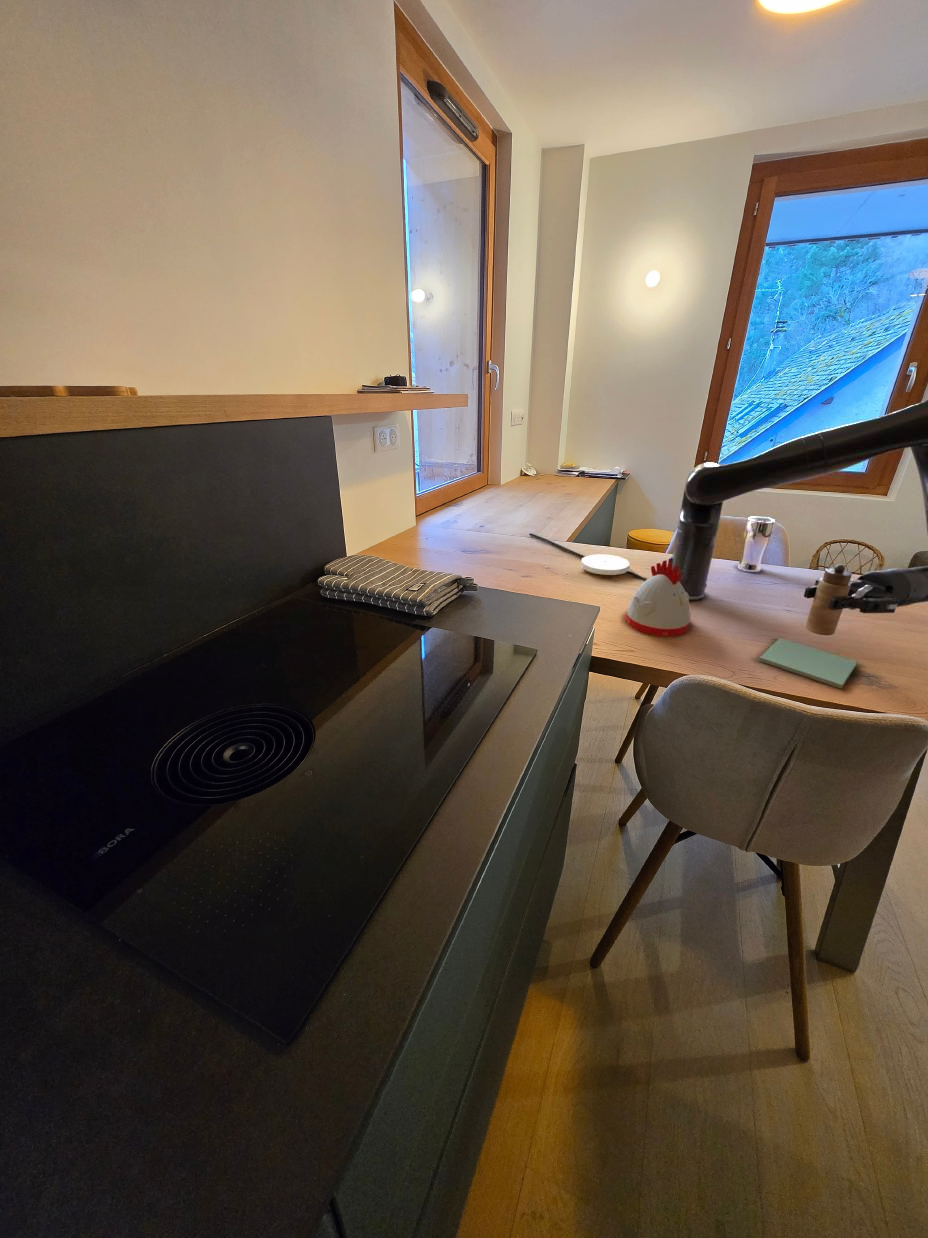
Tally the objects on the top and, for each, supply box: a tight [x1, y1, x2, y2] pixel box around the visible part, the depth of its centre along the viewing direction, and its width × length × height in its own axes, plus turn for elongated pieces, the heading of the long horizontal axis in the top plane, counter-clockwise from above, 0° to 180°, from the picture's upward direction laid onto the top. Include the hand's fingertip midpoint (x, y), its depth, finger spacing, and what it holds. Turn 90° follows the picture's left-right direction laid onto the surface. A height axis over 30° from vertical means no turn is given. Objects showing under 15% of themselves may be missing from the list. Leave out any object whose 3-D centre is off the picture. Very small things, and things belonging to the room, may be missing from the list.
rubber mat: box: [759, 637, 858, 689], centre depth 98 cm, size 14×12×1 cm
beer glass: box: [737, 516, 776, 573], centre depth 144 cm, size 7×7×15 cm
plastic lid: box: [580, 553, 631, 576], centre depth 147 cm, size 14×14×2 cm
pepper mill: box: [804, 564, 853, 636], centre depth 92 cm, size 5×5×13 cm
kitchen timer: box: [625, 559, 691, 637], centre depth 113 cm, size 14×14×15 cm
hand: (819, 598), depth 92 cm, fingers closed on pepper mill, 5 cm apart
